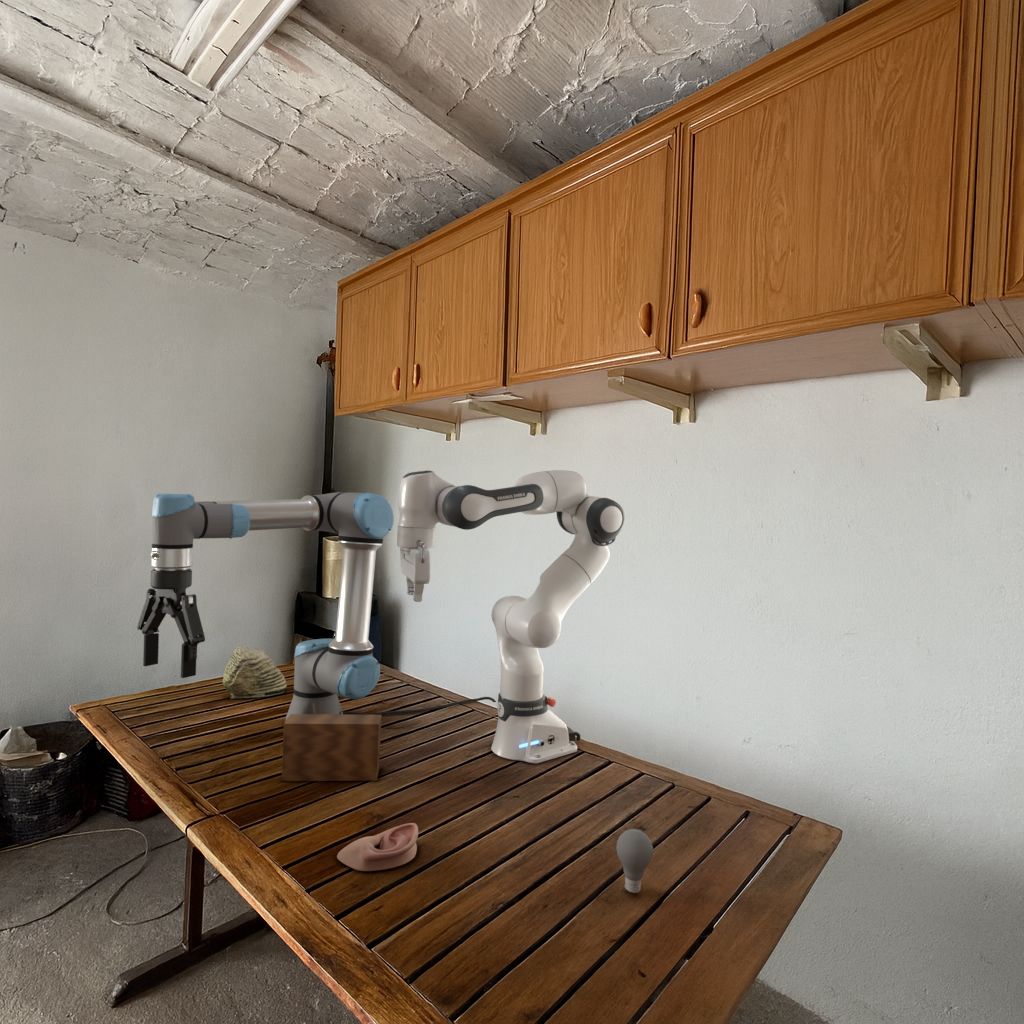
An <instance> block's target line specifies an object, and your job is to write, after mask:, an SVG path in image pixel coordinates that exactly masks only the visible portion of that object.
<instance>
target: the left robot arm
mask: <svg viewBox="0 0 1024 1024" xmlns="http://www.w3.org/2000/svg"><path fill="white" fill-rule="evenodd" d="M151 510H152V511H151V512H152V513H151V525H152V526H151V553H150V558H151V560H150V561H151V562H150V563H151V564H150V565H151V567H152V568H153V569H152V570H151V571H150V587H151V588H147V589H146V596H145V598H146V599H145V602H144V604H143V608H142V611H141V613H140V617H139V620H138V623H137V625H136V628H137V631H141V634H142V635H143V657H142V658H143V659H142V660H143V661H142V665H143V667H150V666H154V665H158V664H159V643H160V642H159V641H160V640H159V639H160V633H159V632H160V630H159V627H160V626H161V625H162V622H163V620H164V619H165V617H166V615H170V617H171V618H172V619H174V622H175V624H176V626H177V629H178V631H179V634H180V636H181V638H182V640H183V643H181V654H180V655H181V656H180V658H181V659H180V660H181V661H180V678H181V679H185V678H190V677H195V676H196V675H197V659H198V645H199V644H201V643H205V641H206V637H205V633H204V629H203V625H202V620H201V617H200V612H199V610H198V603H197V602H198V601H197V595H196V593H195V594H194V593H193V594H187V591H186V590H187V589H188V588H190V587H191V586H192V585H193V570H192V568H191V567H193V565H194V564H193V562H194V561H193V560H194V559H193V558H194V539H195V540H200V539H230V540H231V539H234V538H235V539H236V538H242V537H244V536H247V534H248V532H249V531H251V532H252V531H266V530H283V529H284V530H285V529H300V528H301V529H303V530H304V531H308V532H312V531H318V532H326V533H332V534H338V538H337V542H338V543H339V544H340V545H341V547H342V558H341V570H340V581H339V592H338V602H337V603H338V604H337V615H336V625H335V636H334V638H317V639H308V640H304V641H300V642H299V643H298V644H297V645H296V646H295V650H294V655H293V657H294V672H293V673H294V674H293V695H292V696H293V697H292V699H291V702H290V704H289V708H288V711H287V713H286V715H285V721H286V720H287V718H288V717H289V716H290V714H337V715H381V716H385V715H395V714H396V715H397V714H411V713H412V714H413V713H420V712H427V711H433V710H438V709H443V708H447V707H448V708H449V707H452V706H457V705H461V704H466V703H467V704H468V703H473V702H474V703H475V702H479V701H483V700H488V701H491V702H493V703H496V702H497V700H495V699H494V698H493V697H490V696H482V697H477V698H471V699H470V698H469V699H464V700H460V701H454V702H450V703H445V704H440V705H435V706H429V707H424V708H417V709H416V708H415V709H405V710H403V709H402V710H389V711H379V712H361V711H345V710H343V709H342V706H341V702H340V699H339V697H340V698H343V699H350V700H360V699H363V698H365V697H367V696H368V695H369V694H370V693H371V692H372V690H374V689H375V687H376V686H377V684H378V682H379V680H380V676H381V665H380V663H379V662H378V659H376V658H375V657H374V645H373V644H372V642H371V641H370V640H369V635H370V624H371V613H372V612H371V611H372V601H373V591H374V581H375V580H374V579H375V568H376V558H377V550H378V549H380V548H381V547H382V546H383V544H384V543H383V542H384V538H385V537H386V536H387V535H389V533H390V532H391V531H392V529H393V526H394V522H395V521H394V520H395V517H394V510H393V507H392V505H391V503H390V502H388V500H387V499H386V498H385V497H384V496H383V495H380V494H377V493H373V492H372V493H371V492H352V491H351V492H350V491H349V492H348V491H337V492H329V493H324V494H323V493H321V494H314V495H309V494H308V495H303V497H301V498H299V499H296V498H295V499H294V498H293V499H255V500H254V499H250V500H249V499H248V500H213V501H207V500H206V501H195V497H194V495H193V494H189V493H167V492H166V493H165V492H164V493H157V494H156V495H155V496H154V497H153V503H152V509H151Z"/></svg>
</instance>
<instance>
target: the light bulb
mask: <svg viewBox="0 0 1024 1024" xmlns="http://www.w3.org/2000/svg"><path fill="white" fill-rule="evenodd" d="M615 849H616V854H617V857H618V859H619V861H620V863H621V865H622V867H623V873H624V874H623V875H624V876H625V878H624V888H625V890H627V891H628V892H630V893H634V894H635V893H639V892H640V891H641V889H642V887H641V886H642V879H643V877H644V875H645V871H646V868H647V867H648V866H649V864H650V863H651V861H652V859H653V855H654V847H653V843H652V841H651V838H649V836H648V835H647V834H646V833H645V832H643V831H642V830H641V829H636V828H629V829H627V830H625V831H623V832H622V833H621V834H620V835H619V837H618V839H617V841H616V847H615Z"/></svg>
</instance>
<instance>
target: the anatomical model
mask: <svg viewBox="0 0 1024 1024" xmlns="http://www.w3.org/2000/svg"><path fill="white" fill-rule="evenodd" d="M418 837H419V826H418V825H417V823H415V822H409V823H404V824H400V825H397V826H394V827H391V828H389V829H387V830H385V831H381V833H377V834H375V835H369V836H364V837H361V838H358V839H356V840H354V841H352V842H350V843H349V844H347V845H346V846H345V847H343V848H342V849H341V850H339V852H337V854H336V859H337V860H338V861H339V862H341V863H342V864H343V865H346V867H349V868H351V869H353V870H356V871H359V872H373V871H381V870H383V871H384V870H389V869H393V868H396V867H397V868H398V867H400V866H403V865H405V864H407V863H409V862H410V861H412V860H413V859H414V858H415V857H416V855H417V851H418V844H417V841H418Z"/></svg>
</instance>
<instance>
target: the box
mask: <svg viewBox="0 0 1024 1024" xmlns="http://www.w3.org/2000/svg"><path fill="white" fill-rule="evenodd" d="M282 731H283V735H282V757H281V758H282V760H281V761H282V762H281V782H375V781H377V780H378V777H379V772H380V763H381V762H380V760H381V738H382V737H381V735H382V734H381V733H382V715H350V714H343V715H337V714H290V716H289V717H288V718H287V720H286V719H285V721H284V723H283V730H282Z"/></svg>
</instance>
